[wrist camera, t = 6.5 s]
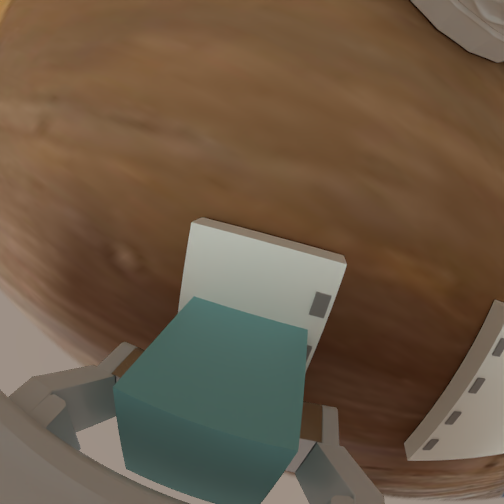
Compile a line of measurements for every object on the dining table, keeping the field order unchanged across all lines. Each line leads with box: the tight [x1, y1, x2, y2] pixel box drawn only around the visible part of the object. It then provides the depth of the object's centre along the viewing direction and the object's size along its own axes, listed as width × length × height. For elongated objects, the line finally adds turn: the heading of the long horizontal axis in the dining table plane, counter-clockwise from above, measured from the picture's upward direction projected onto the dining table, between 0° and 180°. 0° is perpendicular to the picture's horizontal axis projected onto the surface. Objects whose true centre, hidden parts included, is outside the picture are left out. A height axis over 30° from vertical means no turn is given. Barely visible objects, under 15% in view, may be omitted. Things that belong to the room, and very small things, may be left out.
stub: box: [113, 217, 347, 504], centre depth 8 cm, size 5×9×6 cm, turn 167°
